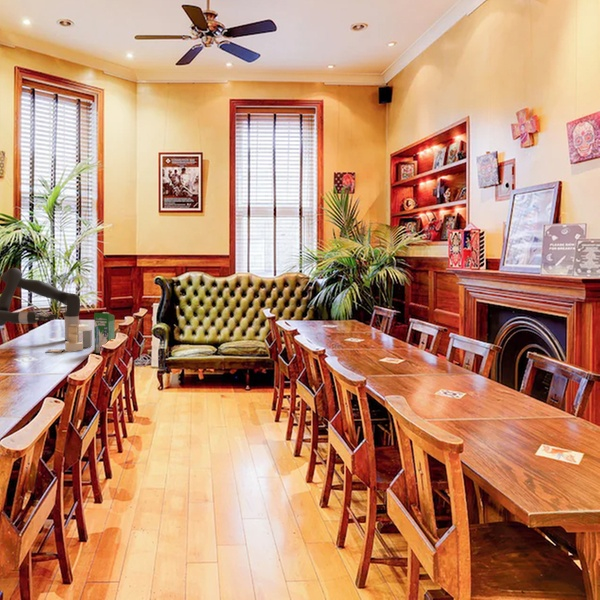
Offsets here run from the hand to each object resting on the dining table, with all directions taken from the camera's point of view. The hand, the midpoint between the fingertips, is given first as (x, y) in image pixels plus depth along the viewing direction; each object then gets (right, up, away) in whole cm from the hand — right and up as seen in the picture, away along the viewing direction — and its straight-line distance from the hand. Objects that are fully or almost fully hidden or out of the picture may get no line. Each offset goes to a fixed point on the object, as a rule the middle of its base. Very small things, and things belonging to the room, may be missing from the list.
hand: (55, 316), depth 346 cm
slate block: (+14, -20, +15) cm, 29 cm away
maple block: (+10, -16, +3) cm, 19 cm away
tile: (+1, -21, -4) cm, 22 cm away
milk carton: (+31, -22, -2) cm, 38 cm away
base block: (+10, -21, +4) cm, 24 cm away
